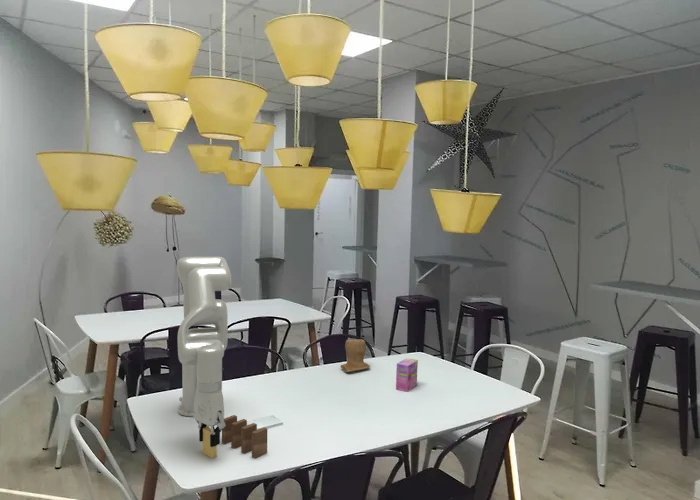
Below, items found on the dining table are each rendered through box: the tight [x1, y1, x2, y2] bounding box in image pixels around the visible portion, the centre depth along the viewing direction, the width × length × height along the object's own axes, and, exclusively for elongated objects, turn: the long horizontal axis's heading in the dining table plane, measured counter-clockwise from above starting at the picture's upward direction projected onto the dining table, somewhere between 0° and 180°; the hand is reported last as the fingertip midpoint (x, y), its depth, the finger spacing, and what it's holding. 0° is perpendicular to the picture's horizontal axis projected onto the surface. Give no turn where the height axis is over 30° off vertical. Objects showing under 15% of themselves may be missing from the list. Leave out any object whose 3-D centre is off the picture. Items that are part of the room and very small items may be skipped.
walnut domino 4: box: [251, 427, 268, 460], centre depth 160 cm, size 2×5×8 cm, turn 141°
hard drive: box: [247, 414, 284, 430], centre depth 183 cm, size 2×8×12 cm
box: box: [395, 357, 419, 393], centre depth 226 cm, size 10×6×12 cm, turn 148°
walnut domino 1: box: [221, 414, 238, 445], centre depth 169 cm, size 2×5×8 cm, turn 141°
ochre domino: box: [202, 426, 218, 459], centre depth 160 cm, size 2×5×8 cm, turn 51°
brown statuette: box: [340, 338, 371, 373], centre depth 251 cm, size 15×12×15 cm
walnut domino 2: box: [230, 418, 248, 450], centre depth 166 cm, size 2×5×8 cm, turn 141°
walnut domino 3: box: [240, 423, 257, 454], centre depth 163 cm, size 2×5×8 cm, turn 141°
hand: (209, 442), depth 160 cm, fingers closed on ochre domino, 4 cm apart
